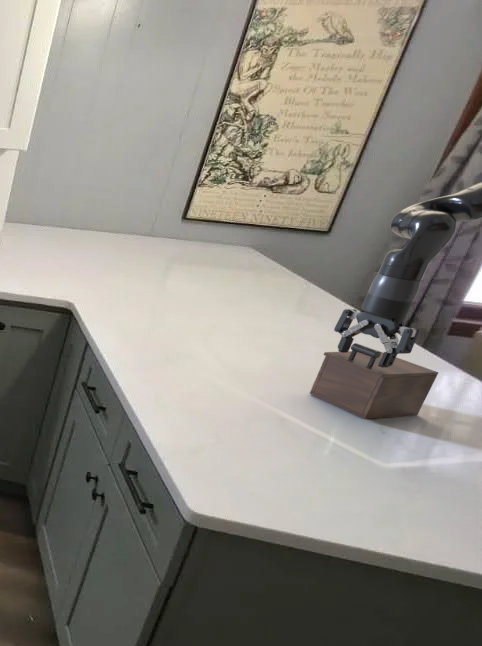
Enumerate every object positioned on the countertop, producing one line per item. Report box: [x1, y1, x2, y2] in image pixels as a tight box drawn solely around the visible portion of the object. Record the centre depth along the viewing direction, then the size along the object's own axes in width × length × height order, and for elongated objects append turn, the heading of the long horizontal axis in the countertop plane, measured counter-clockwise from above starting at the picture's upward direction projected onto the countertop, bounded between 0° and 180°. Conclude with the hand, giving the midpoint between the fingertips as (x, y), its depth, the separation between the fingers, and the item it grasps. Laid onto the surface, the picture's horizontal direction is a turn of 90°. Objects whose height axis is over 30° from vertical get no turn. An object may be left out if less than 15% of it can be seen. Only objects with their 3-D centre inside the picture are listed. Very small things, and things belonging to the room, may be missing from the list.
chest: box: [309, 355, 438, 420], centre depth 153 cm, size 16×13×11 cm
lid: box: [323, 342, 439, 378], centre depth 151 cm, size 16×13×5 cm
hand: (362, 359), depth 150 cm, fingers open, 8 cm apart
